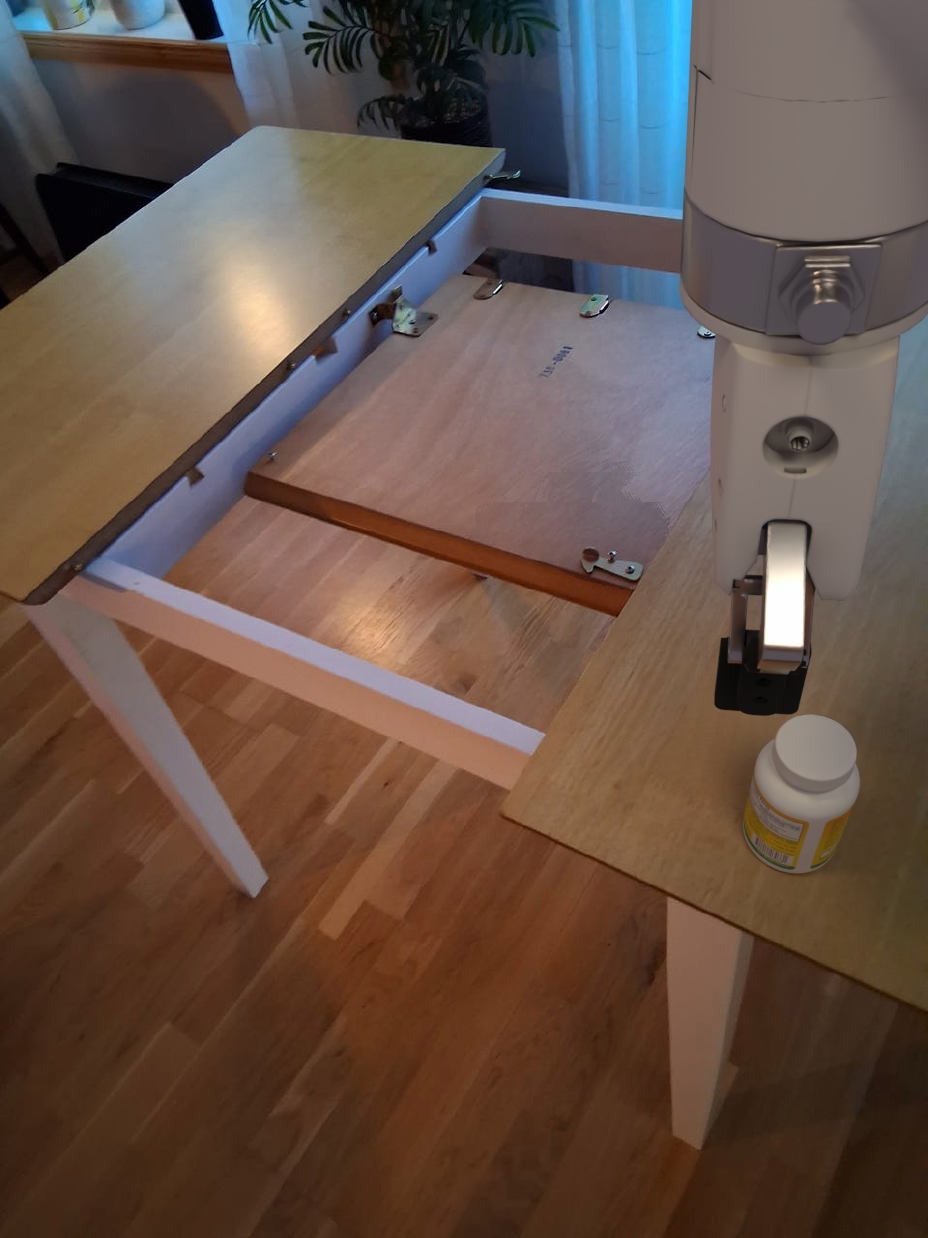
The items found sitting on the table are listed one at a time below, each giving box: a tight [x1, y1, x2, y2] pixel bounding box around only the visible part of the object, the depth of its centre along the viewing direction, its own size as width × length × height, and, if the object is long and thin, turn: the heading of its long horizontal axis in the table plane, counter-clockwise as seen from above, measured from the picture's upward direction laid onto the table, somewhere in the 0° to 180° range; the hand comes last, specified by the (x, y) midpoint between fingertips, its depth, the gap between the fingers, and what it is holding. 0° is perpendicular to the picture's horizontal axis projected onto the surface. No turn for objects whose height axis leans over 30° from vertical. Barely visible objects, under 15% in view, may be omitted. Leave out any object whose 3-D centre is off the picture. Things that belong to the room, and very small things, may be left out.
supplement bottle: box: [742, 714, 861, 874], centre depth 51 cm, size 5×5×10 cm
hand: (753, 614), depth 40 cm, fingers open, 9 cm apart
